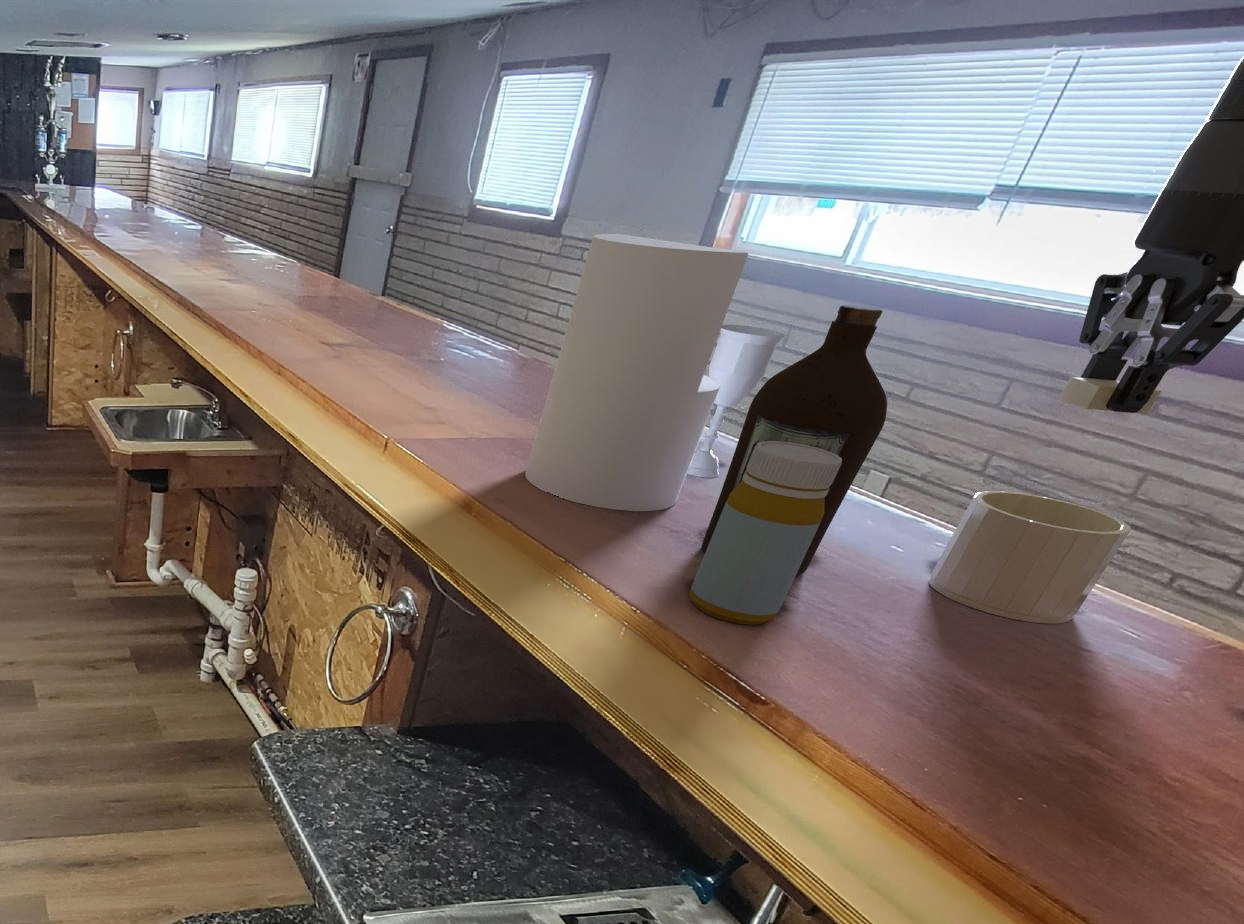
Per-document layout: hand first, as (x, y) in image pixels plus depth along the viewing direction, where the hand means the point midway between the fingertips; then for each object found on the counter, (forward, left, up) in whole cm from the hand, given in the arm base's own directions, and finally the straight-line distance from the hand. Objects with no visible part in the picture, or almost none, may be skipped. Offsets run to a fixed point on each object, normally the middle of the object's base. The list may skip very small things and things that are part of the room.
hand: (1103, 404), depth 80 cm
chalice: (+16, -33, -19) cm, 41 cm away
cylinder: (+31, -22, -19) cm, 42 cm away
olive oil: (+21, -2, -19) cm, 28 cm away
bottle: (+28, +12, -19) cm, 36 cm away
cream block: (0, 0, 0) cm, 0 cm away
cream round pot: (0, +1, -19) cm, 19 cm away
